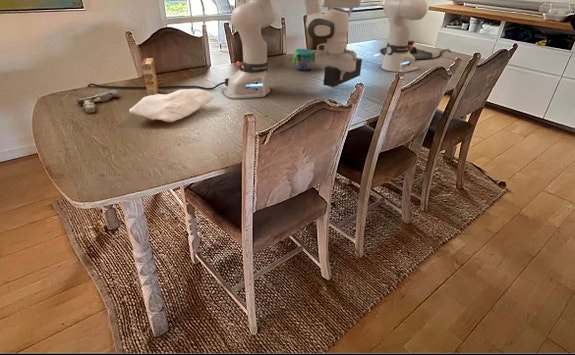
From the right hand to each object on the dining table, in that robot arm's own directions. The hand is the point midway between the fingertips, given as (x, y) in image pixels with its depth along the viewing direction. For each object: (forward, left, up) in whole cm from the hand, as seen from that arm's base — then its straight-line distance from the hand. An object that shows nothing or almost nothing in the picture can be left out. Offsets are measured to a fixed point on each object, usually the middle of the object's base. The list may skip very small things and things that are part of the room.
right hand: (339, 16), depth 191 cm
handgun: (+121, +4, -29) cm, 125 cm away
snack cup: (+13, -11, -29) cm, 34 cm away
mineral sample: (-73, -20, -29) cm, 81 cm away
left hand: (+21, +31, -21) cm, 43 cm away
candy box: (+99, +1, -29) cm, 104 cm away
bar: (+14, +28, -24) cm, 39 cm away
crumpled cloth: (+96, +26, -29) cm, 104 cm away
